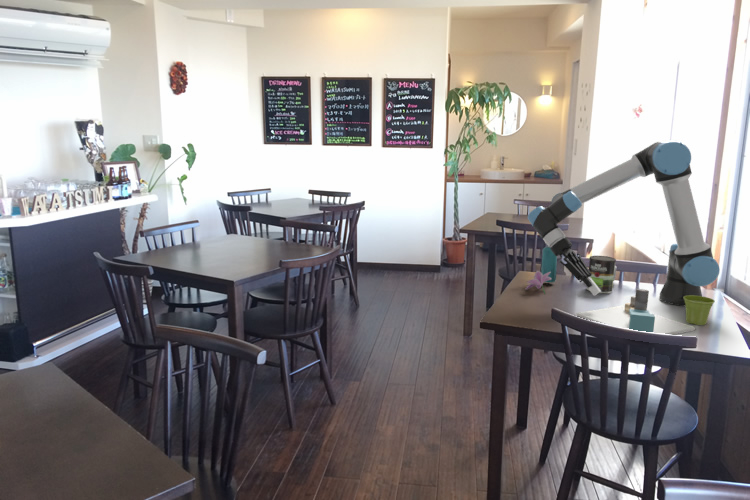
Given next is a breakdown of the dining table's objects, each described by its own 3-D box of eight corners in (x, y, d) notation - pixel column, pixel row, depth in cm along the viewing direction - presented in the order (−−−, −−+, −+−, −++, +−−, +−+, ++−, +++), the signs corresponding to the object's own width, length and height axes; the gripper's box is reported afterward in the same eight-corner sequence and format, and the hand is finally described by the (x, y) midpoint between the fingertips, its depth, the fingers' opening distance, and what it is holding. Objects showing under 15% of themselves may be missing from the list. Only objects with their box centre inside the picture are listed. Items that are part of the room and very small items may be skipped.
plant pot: (691, 327, 187) (694, 302, 186) (674, 318, 197) (677, 295, 195) (717, 327, 188) (721, 302, 186) (700, 318, 197) (703, 295, 196)
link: (622, 307, 205) (625, 281, 203) (640, 308, 203) (643, 282, 201) (636, 325, 184) (639, 296, 182) (655, 327, 183) (659, 298, 181)
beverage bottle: (557, 286, 240) (561, 240, 236) (542, 285, 239) (545, 240, 235) (552, 282, 246) (556, 238, 242) (537, 282, 246) (541, 238, 242)
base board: (624, 307, 209) (625, 304, 209) (694, 330, 184) (694, 327, 184) (576, 315, 198) (576, 313, 198) (643, 341, 174) (643, 338, 174)
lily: (555, 292, 233) (548, 271, 235) (560, 288, 221) (552, 266, 224) (527, 300, 234) (520, 279, 236) (531, 297, 223) (523, 274, 225)
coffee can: (607, 295, 226) (611, 261, 223) (582, 290, 233) (585, 257, 230) (616, 290, 234) (619, 257, 231) (591, 285, 240) (594, 254, 238)
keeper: (626, 320, 190) (628, 305, 189) (648, 323, 188) (650, 307, 187) (629, 330, 180) (631, 314, 179) (653, 333, 178) (655, 316, 177)
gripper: (558, 246, 216) (597, 295, 208) (543, 250, 207) (582, 302, 199) (572, 234, 212) (612, 284, 203) (557, 238, 202) (598, 291, 194)
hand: (597, 293), depth 201 cm, fingers closed
